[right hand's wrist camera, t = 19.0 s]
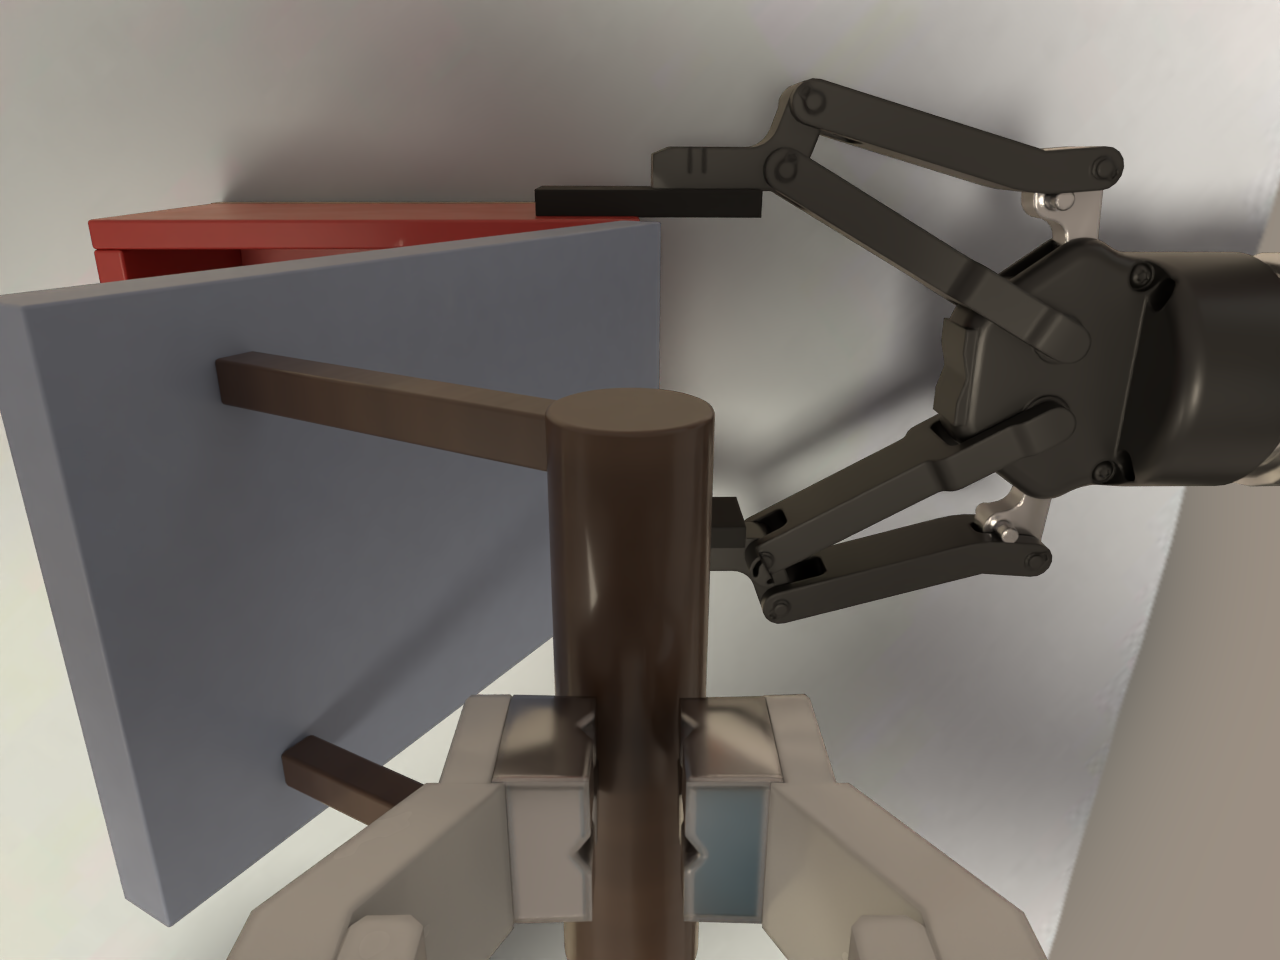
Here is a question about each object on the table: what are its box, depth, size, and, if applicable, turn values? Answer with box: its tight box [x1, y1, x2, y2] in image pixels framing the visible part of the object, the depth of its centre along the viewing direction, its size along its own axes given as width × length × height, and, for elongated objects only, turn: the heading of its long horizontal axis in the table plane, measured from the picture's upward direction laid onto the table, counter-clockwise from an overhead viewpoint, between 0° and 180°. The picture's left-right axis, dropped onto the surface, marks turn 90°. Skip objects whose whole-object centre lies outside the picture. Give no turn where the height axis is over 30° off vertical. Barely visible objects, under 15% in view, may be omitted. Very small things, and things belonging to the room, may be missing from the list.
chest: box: [88, 202, 640, 283], centre depth 30 cm, size 15×10×9 cm, turn 90°
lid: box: [0, 220, 715, 960], centre depth 17 cm, size 16×10×9 cm
